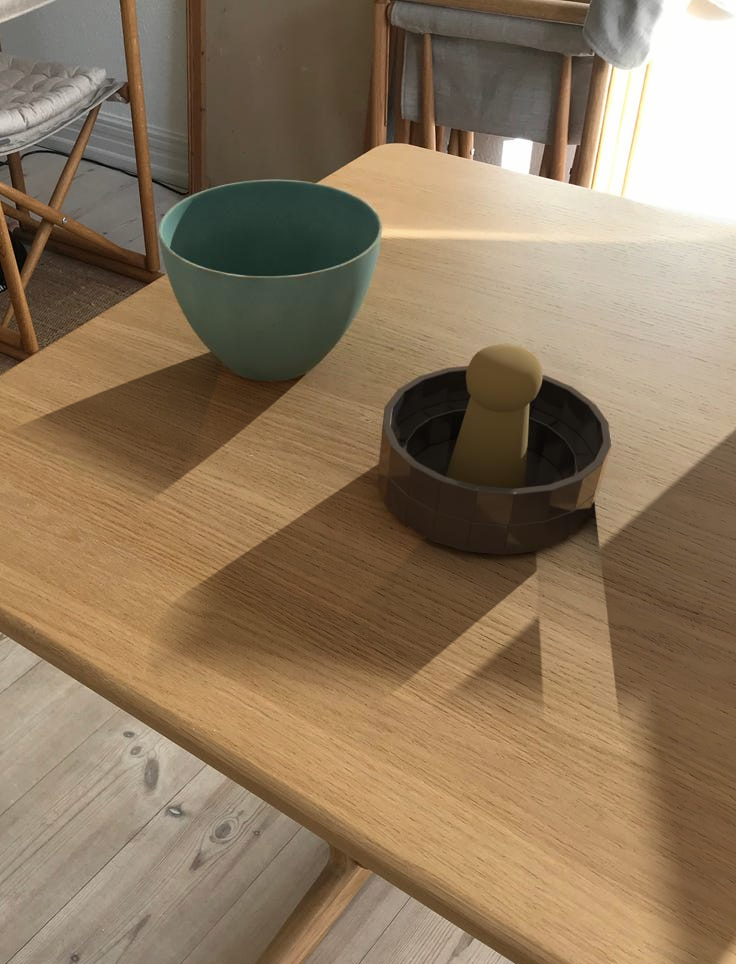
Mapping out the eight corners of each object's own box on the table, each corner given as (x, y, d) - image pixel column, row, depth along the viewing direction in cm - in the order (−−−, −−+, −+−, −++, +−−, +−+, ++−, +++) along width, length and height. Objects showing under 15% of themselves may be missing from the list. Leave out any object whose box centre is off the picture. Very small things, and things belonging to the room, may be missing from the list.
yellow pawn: (507, 518, 76) (533, 387, 68) (431, 492, 78) (449, 363, 71) (537, 475, 80) (565, 346, 72) (464, 452, 82) (484, 324, 74)
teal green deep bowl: (293, 439, 84) (295, 298, 76) (127, 369, 92) (111, 234, 84) (410, 346, 94) (423, 212, 86) (251, 290, 102) (249, 162, 94)
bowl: (585, 438, 84) (602, 373, 80) (600, 570, 73) (620, 502, 69) (385, 423, 86) (390, 358, 82) (369, 549, 75) (375, 482, 71)
